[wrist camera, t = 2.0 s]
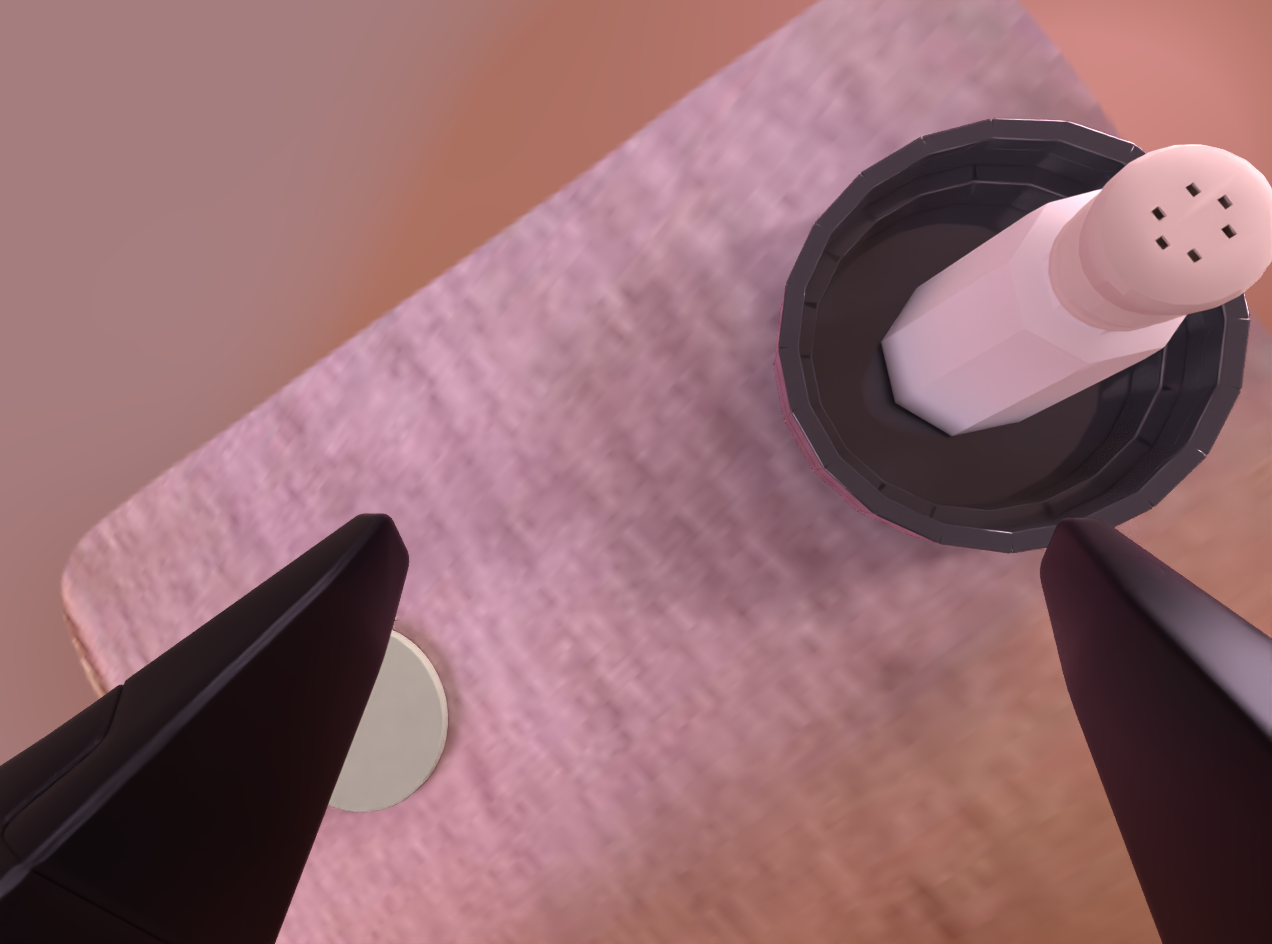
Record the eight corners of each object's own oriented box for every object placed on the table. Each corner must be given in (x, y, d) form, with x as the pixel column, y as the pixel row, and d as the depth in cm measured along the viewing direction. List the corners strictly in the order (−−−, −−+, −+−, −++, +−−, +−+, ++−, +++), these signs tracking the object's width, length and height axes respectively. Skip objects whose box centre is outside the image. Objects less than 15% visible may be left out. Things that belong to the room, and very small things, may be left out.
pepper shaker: (943, 470, 21) (1149, 455, 11) (845, 338, 22) (945, 196, 11) (1091, 373, 21) (1474, 251, 10) (986, 239, 21) (1238, -14, 11)
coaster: (478, 675, 24) (472, 679, 24) (402, 841, 25) (395, 848, 24) (324, 591, 25) (315, 593, 25) (253, 750, 26) (244, 755, 25)
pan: (1235, 256, 21) (1334, 211, 17) (1059, 604, 21) (1121, 627, 18) (868, 124, 22) (891, 59, 19) (716, 447, 23) (711, 440, 20)
